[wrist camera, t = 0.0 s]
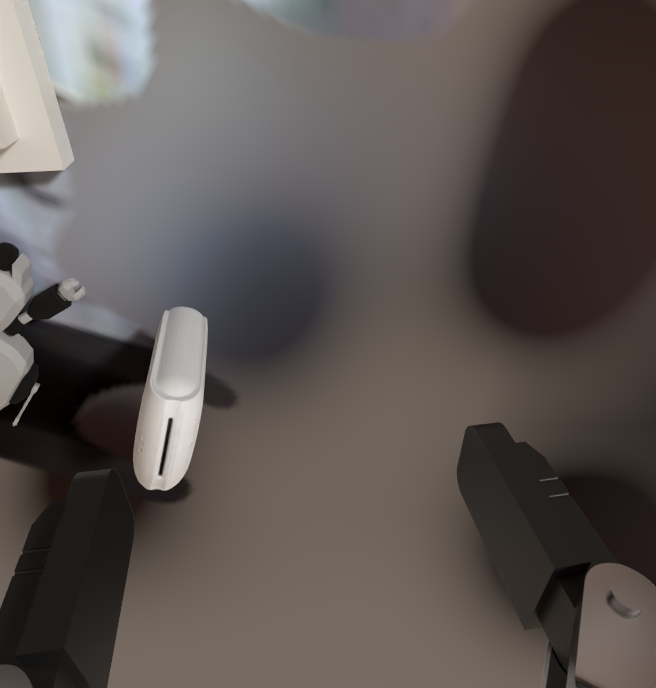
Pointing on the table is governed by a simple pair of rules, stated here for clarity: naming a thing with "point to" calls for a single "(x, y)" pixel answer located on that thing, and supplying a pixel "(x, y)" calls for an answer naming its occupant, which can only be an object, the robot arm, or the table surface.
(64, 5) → the table surface
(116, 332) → the table surface
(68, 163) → the plinth
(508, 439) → the robot arm
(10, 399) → the robot toy
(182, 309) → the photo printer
